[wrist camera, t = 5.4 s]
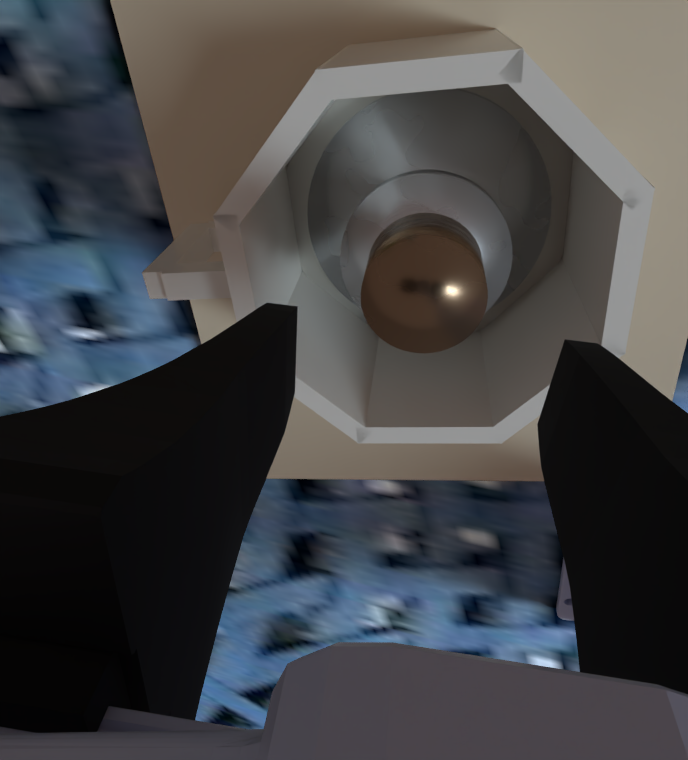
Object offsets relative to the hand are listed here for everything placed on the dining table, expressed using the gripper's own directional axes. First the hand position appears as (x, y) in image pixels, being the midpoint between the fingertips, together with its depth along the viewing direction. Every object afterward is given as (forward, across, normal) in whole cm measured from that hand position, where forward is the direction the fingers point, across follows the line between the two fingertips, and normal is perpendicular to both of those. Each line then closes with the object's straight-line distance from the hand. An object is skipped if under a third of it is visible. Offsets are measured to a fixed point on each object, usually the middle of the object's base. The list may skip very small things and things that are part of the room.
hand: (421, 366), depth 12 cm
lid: (+9, 0, 0) cm, 9 cm away
